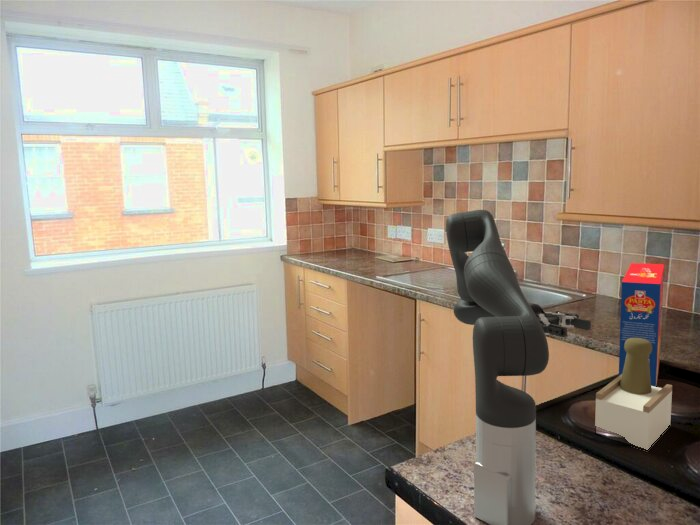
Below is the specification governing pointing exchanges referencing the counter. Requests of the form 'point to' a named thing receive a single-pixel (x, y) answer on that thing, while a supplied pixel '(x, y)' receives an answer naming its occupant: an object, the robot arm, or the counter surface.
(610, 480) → the counter surface
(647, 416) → the display stand
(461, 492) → the counter surface
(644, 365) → the olive green pawn
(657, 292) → the pasta box
